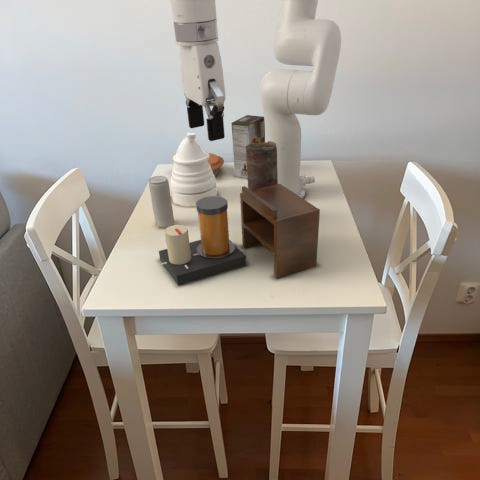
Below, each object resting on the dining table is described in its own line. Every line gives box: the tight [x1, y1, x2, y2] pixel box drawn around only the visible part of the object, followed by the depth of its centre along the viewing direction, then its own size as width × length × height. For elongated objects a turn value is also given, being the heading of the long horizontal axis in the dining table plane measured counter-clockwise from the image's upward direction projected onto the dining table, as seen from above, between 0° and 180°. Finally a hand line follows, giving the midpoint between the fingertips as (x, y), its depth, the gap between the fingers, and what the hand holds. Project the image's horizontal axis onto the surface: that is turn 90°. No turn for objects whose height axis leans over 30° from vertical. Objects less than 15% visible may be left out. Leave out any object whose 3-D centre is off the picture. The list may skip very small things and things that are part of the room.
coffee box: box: [231, 114, 265, 179], centre depth 141 cm, size 9×6×16 cm
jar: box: [195, 195, 230, 255], centre depth 101 cm, size 7×7×11 cm
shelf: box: [239, 184, 321, 280], centre depth 101 cm, size 10×16×15 cm, turn 26°
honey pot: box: [169, 131, 218, 208], centre depth 128 cm, size 13×13×18 cm
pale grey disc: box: [197, 240, 236, 259], centre depth 104 cm, size 9×9×1 cm
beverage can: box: [148, 175, 175, 229], centre depth 117 cm, size 5×5×12 cm
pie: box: [208, 152, 225, 177], centre depth 146 cm, size 16×16×5 cm
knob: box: [164, 224, 191, 265], centre depth 99 cm, size 5×5×7 cm
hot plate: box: [158, 239, 247, 287], centre depth 103 cm, size 18×12×3 cm
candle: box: [246, 141, 278, 190], centre depth 112 cm, size 8×7×20 cm
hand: (206, 132), depth 93 cm, fingers open, 9 cm apart
